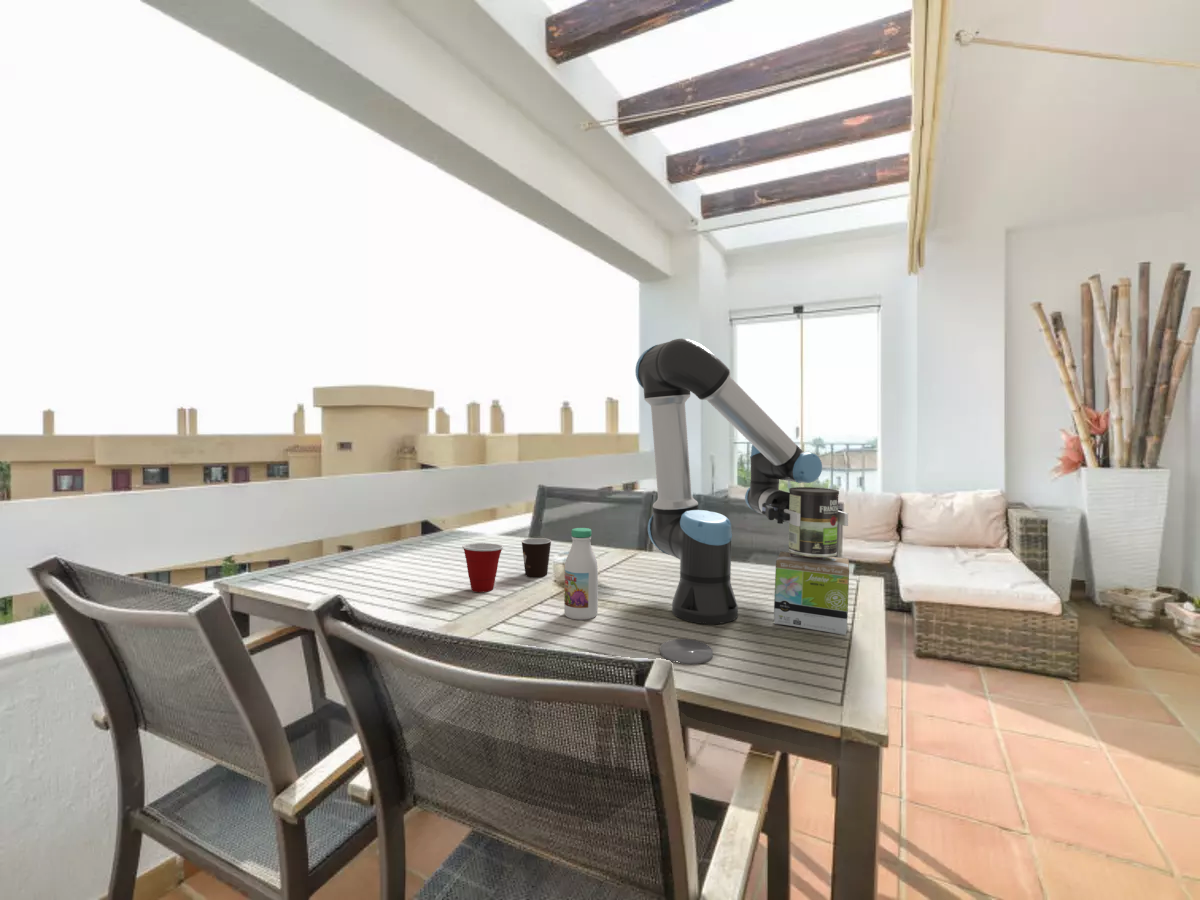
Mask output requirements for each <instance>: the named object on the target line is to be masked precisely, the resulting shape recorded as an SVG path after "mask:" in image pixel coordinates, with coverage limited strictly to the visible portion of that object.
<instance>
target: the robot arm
mask: <svg viewBox="0 0 1200 900" xmlns="http://www.w3.org/2000/svg"><path fill="white" fill-rule="evenodd" d="M635 365H636V366H635V377H636V380H637V383H638V385H640V387H641V388H642V389H643V397H644V399H643V400H644V401H645V402H646V403H647V404H649V406H650V411H651V422H652V424H651V425H652V436H653V450H654V463H655V475H656V487H657V488H656V490H657V499H656V501H654V502H653V504H652V515H651V516H650V518H649V520H648V522H647V533H648V538H649V539H650V541H651V543H652V544H653V546H654V547H655V548H657V549H658V550H659V551H661V552H662V553H664V554H666V555H669V556H671V557H674V558H676V559H678V560H680V561H679V581H678V584H677V586H676V589H675V592H674V595H673V599H672V603H671V607H672V608H671V612H672V614H673V616H675V617H677V618H679V619H681V620H682V621H683V620H684V621H687V622H690V623H694V624H695V623H697V624H703V625H704V624H705V625H718V624H719V625H720V624H726V623H730V622H734V621H735V620H736V619H737V618H738V613H739V612H738V611H739V605H738V603H737V602H738V601H737V599H736V596H735V592H734V590H733V586H732V583H731V577H732V576H731V574H732V573H731V570H732V567H731V565H732V539H733V534H732V533H733V531H732V523H731V520H730V519H729V518H728V517H727V516H725V515H724V514H721V513H720V512H715V511H709V510H706V509H705V510H703V509H699V501H697V500H696V499H695V498H694V497H693V494H692V484H691V483H692V482H691V473H690V472H691V469H690V457H689V456H690V455H689V454H690V453H689V443H688V441H689V440H688V427H687V416H686V415H687V413H686V402H687V401H688V400H689V398H690V397H691V393H692V394H694V395H695V396H696V397H697V398H698V399H699V400H702V401H703V400H704V401H705V400H706V401H707V402H708V403H709V404H711V406H713V408H714V409H715V410H716V411H717V412H718V413H719V414H721V416H722V417H724V419H726V420H727V421H728V423H730V424H731V425H732V426H733V427H734V428H735V429H736V430H737V431H738V432H739V434H741V435H742V436H743V437H744V438H745V439H747V441H748V442H749V443H751V446H750V448H751V450H750V457H749V459H750V480H749V481H750V484H749V488H748V489H747V490H746V492H745V494H744V500H745V501H744V502H745V503H746V505H747V507H748V508H749V509H751V510H752V511H753V512H755V513H758V514H761V515H764V516H766V518H767V519H768V520H769V521H776V522H777V524H779V525H781V524H782V525H783V523H787V524H789V523H790V524H792V525H795V526H800V513H797V512H794V511H791V510H789V505H790V492H787V491H784V490H782V489H780V481H788V482H792V483H793V482H794V483H798V484H803V483H804V484H805V483H806V484H811V483H814V482H815V481H817V480H818V479H819V477H820V476H821V474H822V472H823V463H822V460H821V458H820V457H819V456H818V455H817V454H815V453H813V452H809V451H803V450H802V449H801V448H800V446H798V445H797V444H796V442H794V441H793V440H792V438H791V437H789V435H788V434H787V433H786V432H785V431H784V430H783V429H782V428H781V427H780V426H779V425H778V424H777V423H776V422H775V421H774V420H773V419H772V418H771V417H770V416H769V415H768V414H767V413H766V412H765V411H764V410H763V409H762V408H761V407H760V405H758V404H757V402H755V400H753V399H752V397H751V396H749V394H748V393H746V391H744V389H743V388H742V387H741V386H740V385H739V384H738V383H737V382H736V381H735V380H734V379H733V378H732V377H731V370H730V369H729V368H728V366H727V365H726V364H725V363H724V362H723V361H722V360H721V359H720V358H719V357H718V356H716V354H714V353H713V352H712V351H710V350H709V349H708V348H707V347H706V346H704V345H702V344H701V343H699V342H698V341H695V340H693V339H689V338H675V339H672V340H670V341H667V342H663V343H659V344H655V345H652V346H651V347H650V348H647V349H646V350H644V352H643V353H641V355H640V356H639V357H638V359H637V361H636V364H635ZM838 525H841V526H844V527H848V526H849V513H848V512H845V511H843V508H840V507H838Z"/></svg>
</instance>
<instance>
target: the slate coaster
mask: <svg viewBox="0 0 1200 900" xmlns="http://www.w3.org/2000/svg"><path fill="white" fill-rule="evenodd" d="M659 652H660V656H662V658H664V659H666V660H667V659H669V660H668V661H670V660H671V661H670V662H672V663H673V661H675V662H674V663H676V661H678V662H680V663H679V664H681V663H683V665H699V664H698V663H700V664H703V663H706V661H707V662H709V661H711V660H712V658H713V654H714V653H713V648H712V647H711V646H710V645H708V644H707V643H705V642H702V641H700V640H695V639H690V638H676V639H675V638H674V639H670V640H666V641H664V642H663V643H661V645H660V647H659Z"/></svg>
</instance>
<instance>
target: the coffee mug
mask: <svg viewBox="0 0 1200 900" xmlns="http://www.w3.org/2000/svg"><path fill="white" fill-rule="evenodd" d="M551 545H552V539H549V538H545V537H544V538H543V537H534V538H533V537H531V538H525V539H522V540H521V546H522V557H523V566H524V574H525V576H526V577H527V578H534V579H535V578H537V579H538V578H544V577H546V576H548V573H549V571H548V570H549V562H550V553H551Z"/></svg>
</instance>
